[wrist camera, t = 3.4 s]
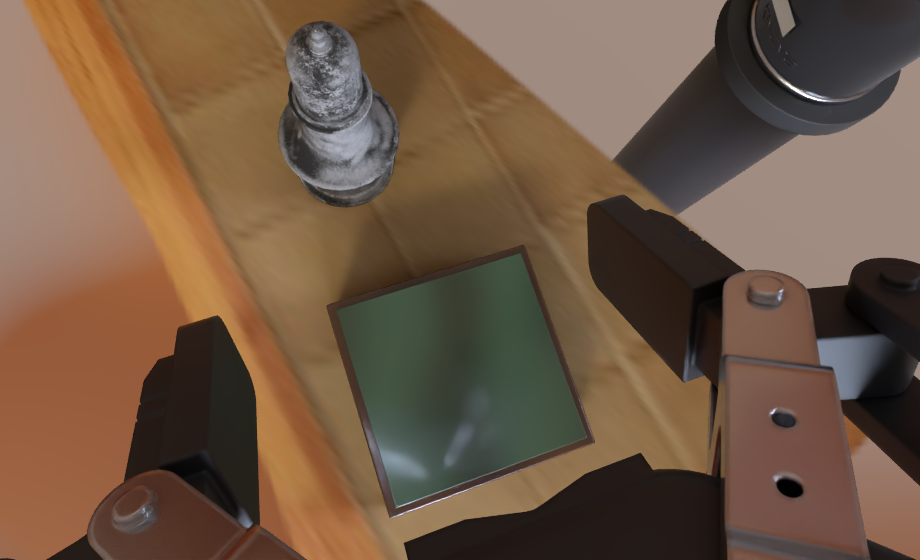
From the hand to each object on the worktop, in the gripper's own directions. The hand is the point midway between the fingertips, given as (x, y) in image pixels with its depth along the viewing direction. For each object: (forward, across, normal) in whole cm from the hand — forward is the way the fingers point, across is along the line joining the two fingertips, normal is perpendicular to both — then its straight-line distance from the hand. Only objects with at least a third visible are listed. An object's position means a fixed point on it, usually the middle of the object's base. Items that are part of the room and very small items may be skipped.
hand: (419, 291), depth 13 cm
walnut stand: (+12, -2, +14) cm, 19 cm away
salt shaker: (+21, 0, +5) cm, 22 cm away
